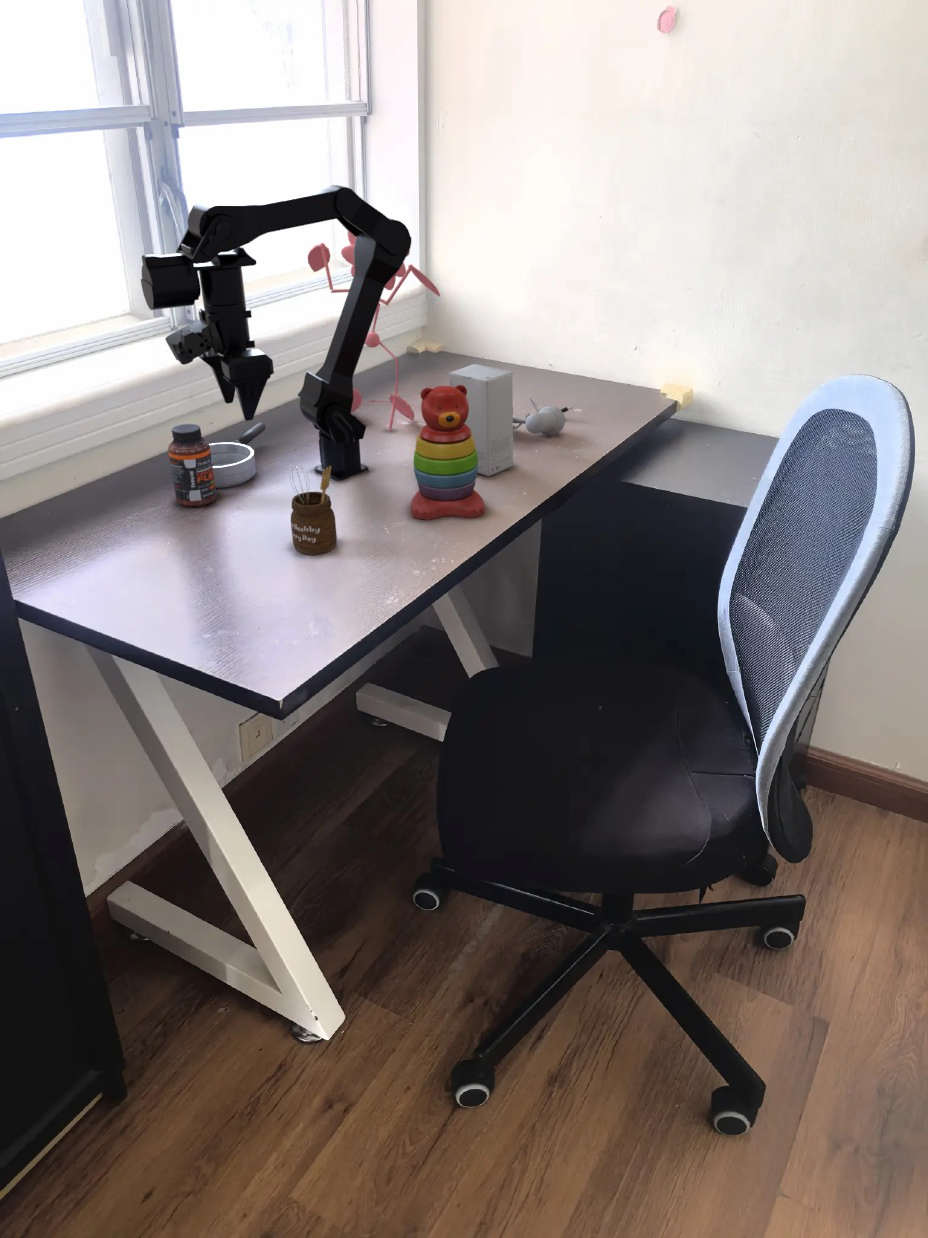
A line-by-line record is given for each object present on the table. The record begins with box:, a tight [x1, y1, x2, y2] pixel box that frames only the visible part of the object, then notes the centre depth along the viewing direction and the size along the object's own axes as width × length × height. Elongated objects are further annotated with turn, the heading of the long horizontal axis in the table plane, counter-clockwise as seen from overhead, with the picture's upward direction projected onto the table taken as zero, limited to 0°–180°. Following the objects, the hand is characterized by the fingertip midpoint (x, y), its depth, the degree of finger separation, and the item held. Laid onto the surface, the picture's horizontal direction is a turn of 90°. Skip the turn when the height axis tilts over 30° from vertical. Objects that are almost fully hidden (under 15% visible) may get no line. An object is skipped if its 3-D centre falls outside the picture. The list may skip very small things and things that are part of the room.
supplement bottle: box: [167, 423, 217, 508], centre depth 136 cm, size 6×6×11 cm
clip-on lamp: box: [513, 395, 573, 437], centre depth 164 cm, size 12×6×18 cm
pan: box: [209, 442, 257, 489], centre depth 146 cm, size 11×11×4 cm
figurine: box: [307, 230, 441, 436], centre depth 163 cm, size 15×26×35 cm, turn 66°
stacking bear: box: [410, 385, 486, 520], centre depth 132 cm, size 11×10×18 cm
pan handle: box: [229, 422, 267, 451], centre depth 155 cm, size 11×2×2 cm, turn 166°
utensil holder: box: [289, 466, 338, 556], centre depth 122 cm, size 6×6×12 cm
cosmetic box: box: [448, 363, 514, 477], centre depth 146 cm, size 8×7×16 cm
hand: (238, 411), depth 136 cm, fingers open, 9 cm apart
